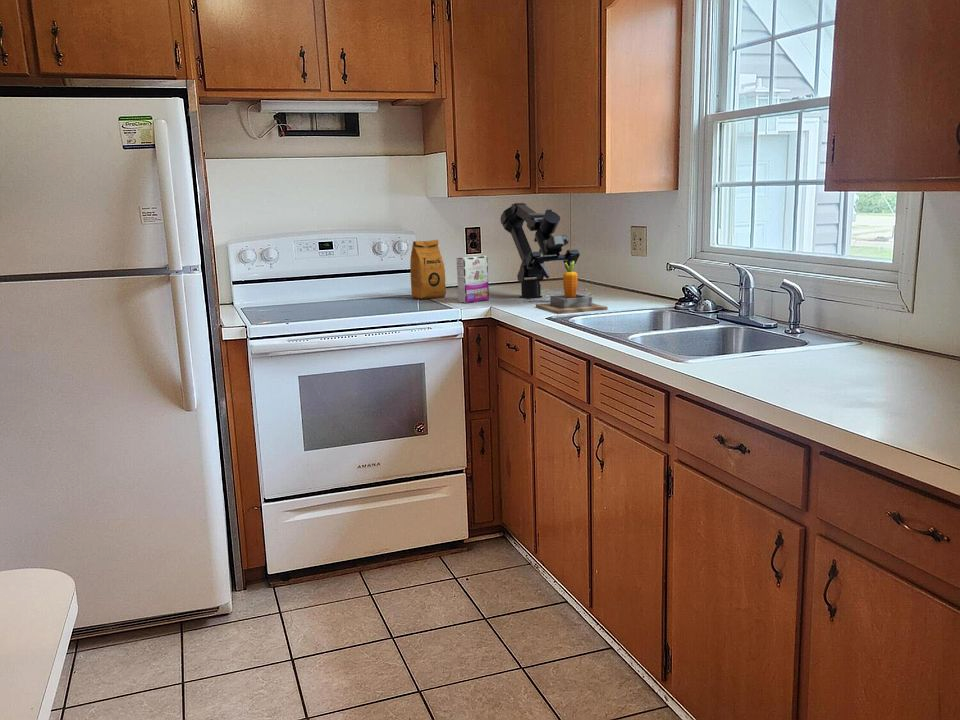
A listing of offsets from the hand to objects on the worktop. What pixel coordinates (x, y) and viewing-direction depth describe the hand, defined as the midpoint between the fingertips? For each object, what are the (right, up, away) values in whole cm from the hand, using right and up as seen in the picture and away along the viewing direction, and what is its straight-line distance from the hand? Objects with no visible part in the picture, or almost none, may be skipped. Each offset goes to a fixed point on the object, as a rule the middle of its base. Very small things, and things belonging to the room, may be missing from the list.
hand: (560, 276), depth 288 cm
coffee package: (-47, -5, +32) cm, 57 cm away
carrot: (+3, -10, -5) cm, 12 cm away
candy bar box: (-30, -7, +19) cm, 36 cm away
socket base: (+3, -11, -5) cm, 13 cm away
